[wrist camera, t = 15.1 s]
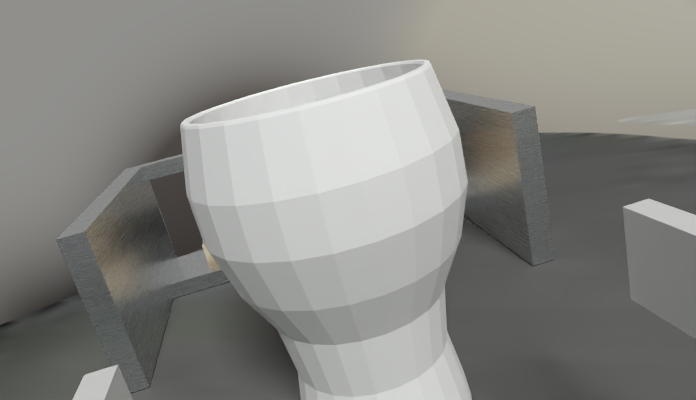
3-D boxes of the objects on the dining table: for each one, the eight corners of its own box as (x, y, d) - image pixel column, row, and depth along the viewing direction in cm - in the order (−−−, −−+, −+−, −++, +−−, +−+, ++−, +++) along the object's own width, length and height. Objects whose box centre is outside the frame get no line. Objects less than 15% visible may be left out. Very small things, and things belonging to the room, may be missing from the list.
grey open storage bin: (123, 395, 31) (55, 239, 28) (164, 274, 48) (125, 169, 45) (554, 259, 34) (535, 106, 31) (450, 190, 51) (431, 87, 48)
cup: (230, 445, 25) (115, 135, 21) (376, 326, 32) (313, 74, 27) (409, 569, 18) (289, 122, 13) (550, 378, 24) (503, 41, 20)
